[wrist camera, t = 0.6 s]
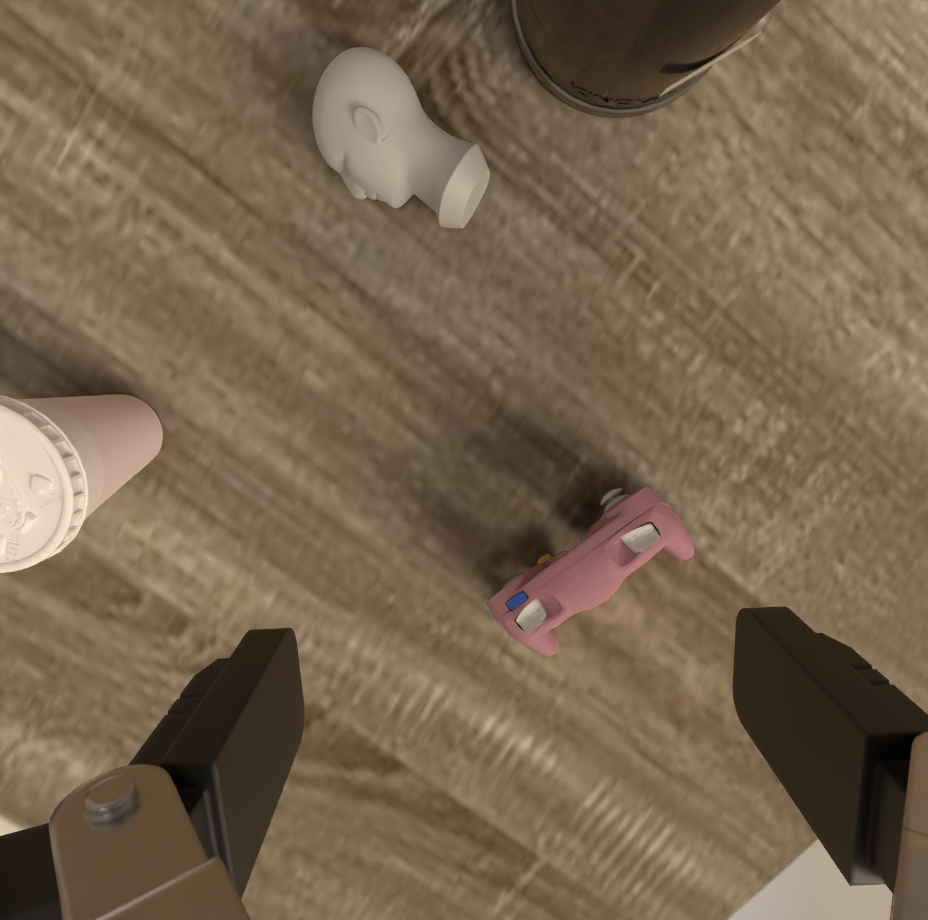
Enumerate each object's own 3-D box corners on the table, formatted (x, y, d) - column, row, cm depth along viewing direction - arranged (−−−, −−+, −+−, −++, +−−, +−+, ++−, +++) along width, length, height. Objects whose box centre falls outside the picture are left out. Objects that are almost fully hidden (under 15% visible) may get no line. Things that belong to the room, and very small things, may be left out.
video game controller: (644, 476, 33) (641, 461, 27) (702, 548, 32) (714, 550, 25) (496, 586, 35) (458, 597, 28) (546, 658, 34) (519, 688, 27)
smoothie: (105, 338, 30) (-191, 371, 17) (216, 424, 31) (24, 523, 18) (34, 438, 31) (-295, 547, 18) (144, 519, 32) (-88, 679, 19)
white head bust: (311, 136, 29) (375, 31, 27) (443, 259, 30) (515, 169, 28) (265, 136, 25) (333, 14, 23) (417, 276, 26) (498, 174, 24)
